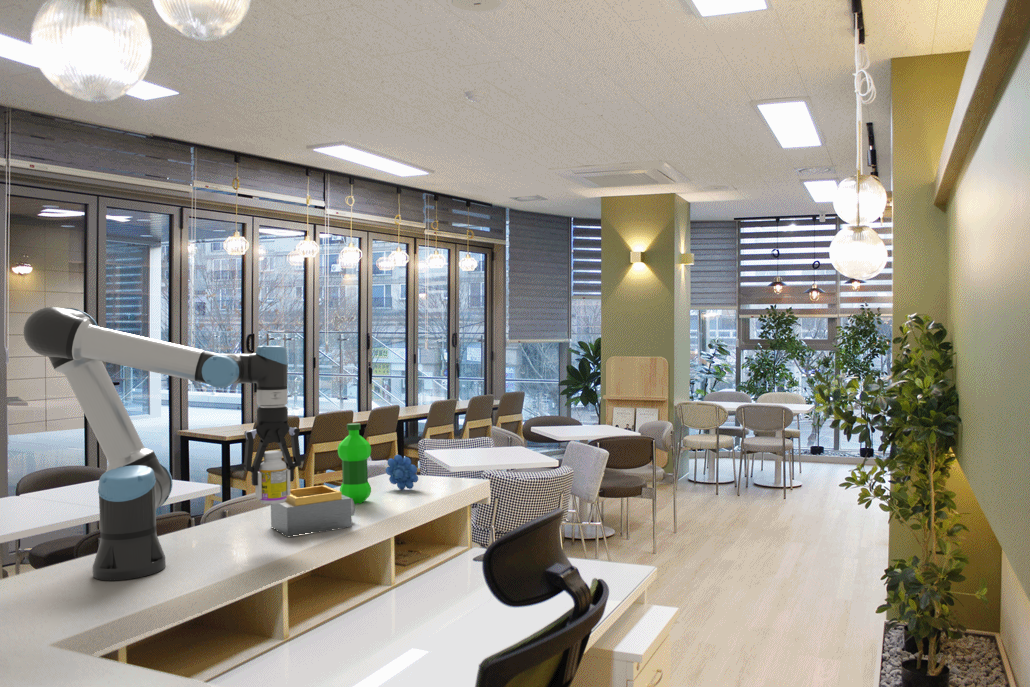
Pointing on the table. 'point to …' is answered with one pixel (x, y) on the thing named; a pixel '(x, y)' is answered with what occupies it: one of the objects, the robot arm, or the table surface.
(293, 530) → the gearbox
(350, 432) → the plastic bottle
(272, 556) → the table surface
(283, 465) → the supplement bottle
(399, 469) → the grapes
